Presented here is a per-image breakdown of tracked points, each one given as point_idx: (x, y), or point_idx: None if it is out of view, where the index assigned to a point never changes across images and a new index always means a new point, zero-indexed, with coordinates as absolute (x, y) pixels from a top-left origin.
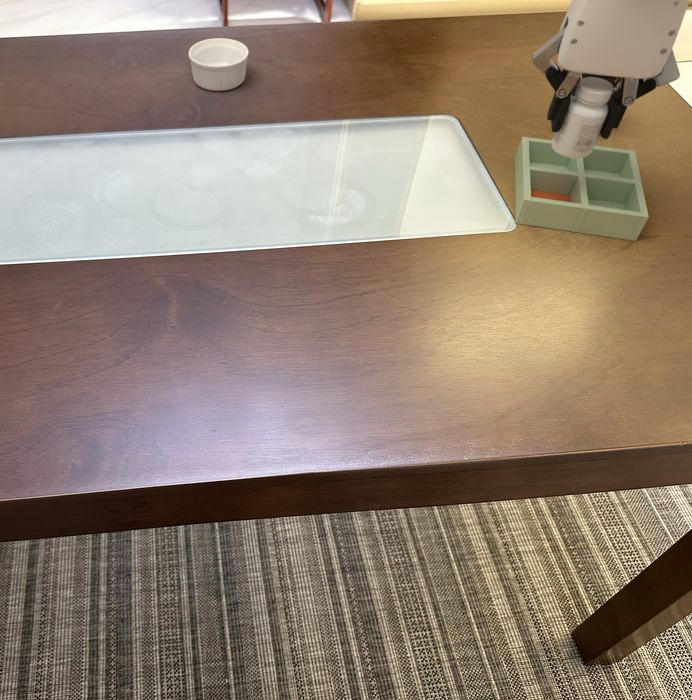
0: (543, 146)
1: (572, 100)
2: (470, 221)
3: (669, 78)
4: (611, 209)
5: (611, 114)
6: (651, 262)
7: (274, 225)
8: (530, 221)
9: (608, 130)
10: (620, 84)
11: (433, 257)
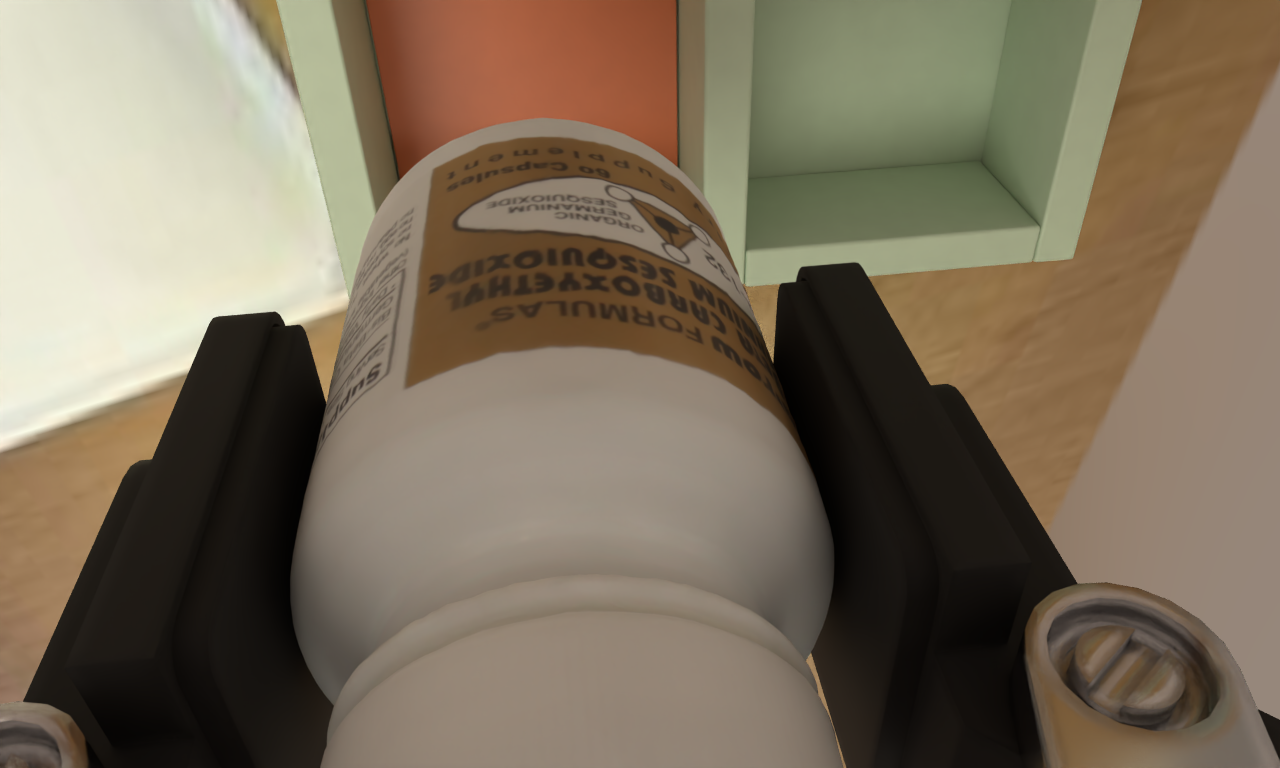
0: None
1: (346, 669)
2: (132, 284)
3: None
4: (874, 255)
5: (833, 723)
6: (1025, 305)
7: None
8: None
9: None
10: (1036, 751)
11: (77, 554)
